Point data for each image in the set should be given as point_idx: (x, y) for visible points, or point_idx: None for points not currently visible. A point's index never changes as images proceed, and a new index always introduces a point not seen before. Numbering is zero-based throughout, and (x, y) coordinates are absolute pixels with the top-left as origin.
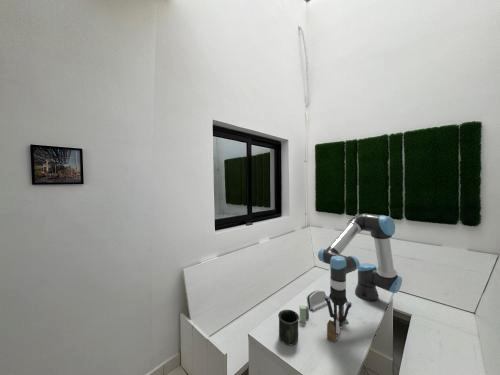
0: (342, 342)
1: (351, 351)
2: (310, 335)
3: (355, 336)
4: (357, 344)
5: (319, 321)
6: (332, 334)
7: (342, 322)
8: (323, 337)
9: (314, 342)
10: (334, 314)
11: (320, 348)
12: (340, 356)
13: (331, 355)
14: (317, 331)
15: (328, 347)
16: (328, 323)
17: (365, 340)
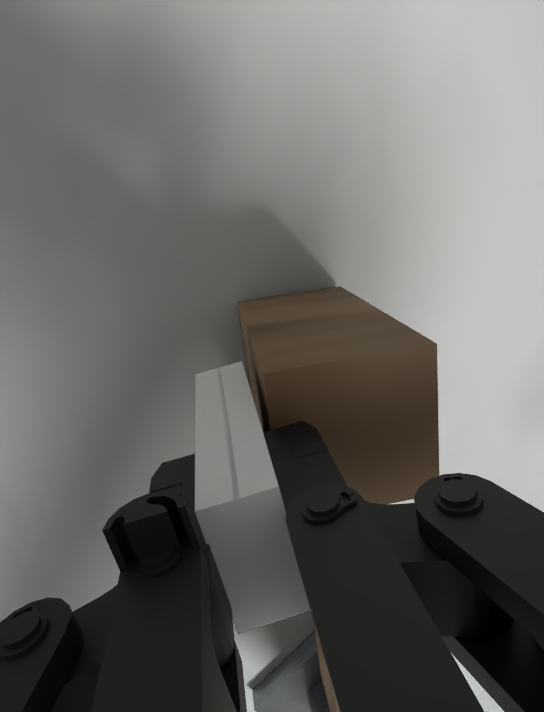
0: (173, 381)
1: (22, 323)
2: (528, 179)
3: (110, 580)
4: (32, 486)
5: (514, 490)
6: (285, 318)
7: (303, 658)
8: (383, 279)
9: (442, 92)
10: (394, 617)
11: (337, 44)
12: (74, 118)
13: (169, 33)
14: (479, 319)
15: (264, 154)
16: (417, 371)
17: (3, 607)
